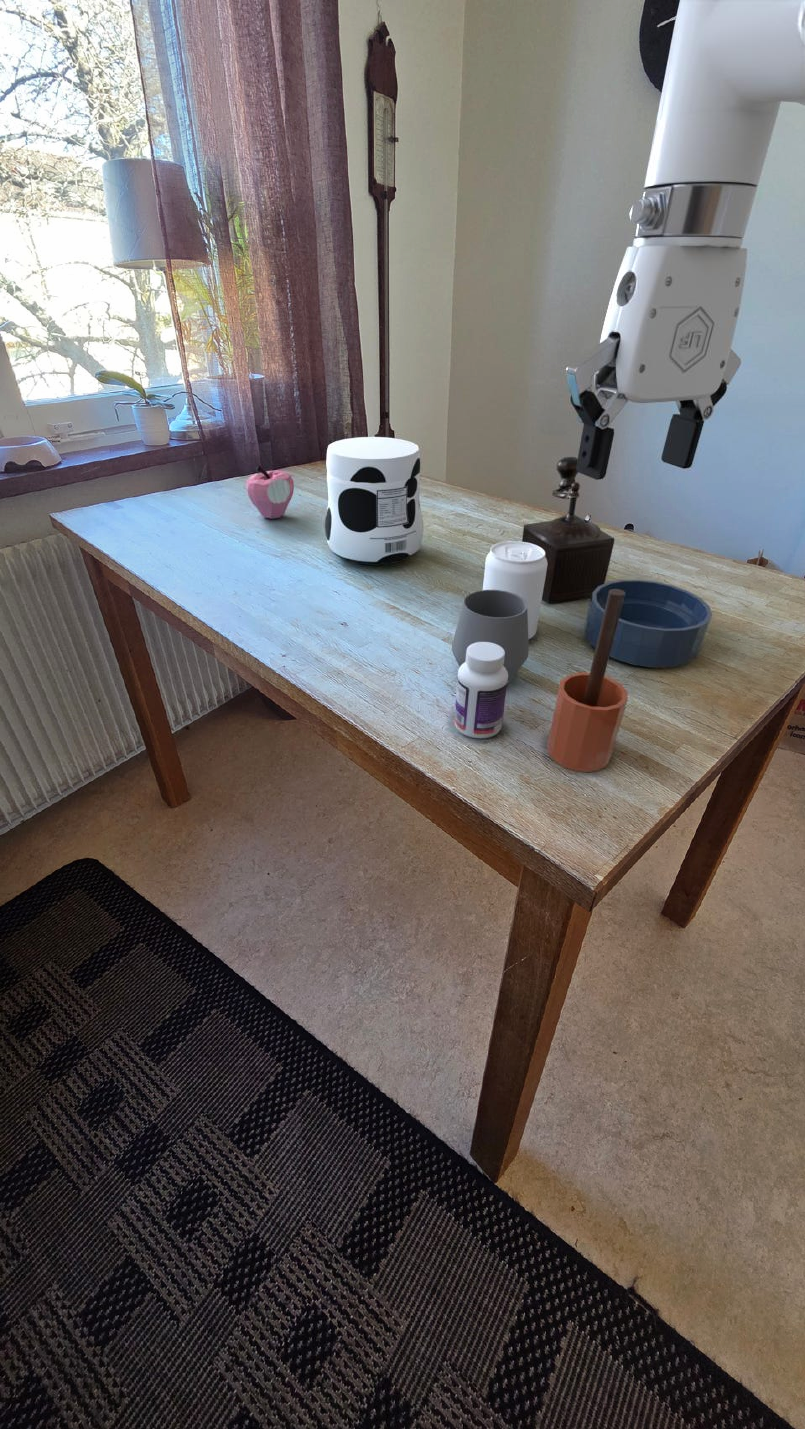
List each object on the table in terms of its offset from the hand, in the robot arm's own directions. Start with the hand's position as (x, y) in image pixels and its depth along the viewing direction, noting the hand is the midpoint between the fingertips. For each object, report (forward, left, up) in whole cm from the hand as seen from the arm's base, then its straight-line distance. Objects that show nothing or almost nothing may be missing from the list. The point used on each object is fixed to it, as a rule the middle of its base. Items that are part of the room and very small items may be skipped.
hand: (633, 470), depth 54 cm
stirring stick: (-6, +4, -27) cm, 28 cm away
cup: (+11, +6, -28) cm, 30 cm away
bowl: (+11, -18, -27) cm, 35 cm away
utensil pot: (-6, +4, -27) cm, 28 cm away
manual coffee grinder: (+33, -18, -28) cm, 47 cm away
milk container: (+54, +6, -28) cm, 61 cm away
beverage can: (+20, -2, -28) cm, 34 cm away
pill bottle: (+2, +12, -28) cm, 30 cm away
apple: (+80, +19, -28) cm, 87 cm away
